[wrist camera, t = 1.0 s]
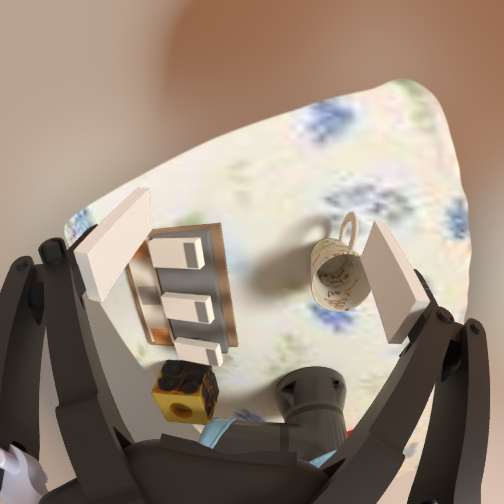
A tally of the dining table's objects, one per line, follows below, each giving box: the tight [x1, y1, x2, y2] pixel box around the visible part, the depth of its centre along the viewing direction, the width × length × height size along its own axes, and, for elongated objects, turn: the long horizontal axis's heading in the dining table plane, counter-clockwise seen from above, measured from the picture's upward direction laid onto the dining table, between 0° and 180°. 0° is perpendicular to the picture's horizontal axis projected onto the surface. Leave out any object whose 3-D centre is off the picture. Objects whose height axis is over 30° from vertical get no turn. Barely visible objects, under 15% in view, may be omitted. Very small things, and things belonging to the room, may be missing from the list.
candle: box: [151, 360, 219, 425], centre depth 50 cm, size 10×10×10 cm
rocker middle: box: [161, 292, 214, 324], centre depth 42 cm, size 4×8×2 cm, turn 95°
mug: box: [311, 212, 371, 312], centre depth 37 cm, size 8×13×10 cm, turn 171°
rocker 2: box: [174, 337, 223, 367], centre depth 45 cm, size 4×8×2 cm, turn 95°
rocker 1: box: [148, 238, 205, 269], centre depth 39 cm, size 4×8×2 cm, turn 95°
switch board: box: [126, 223, 238, 353], centre depth 45 cm, size 23×18×4 cm
